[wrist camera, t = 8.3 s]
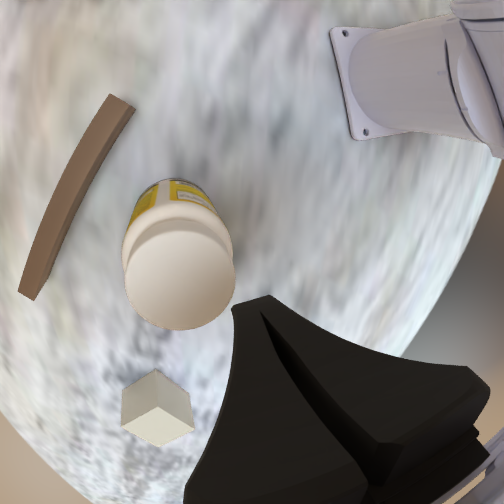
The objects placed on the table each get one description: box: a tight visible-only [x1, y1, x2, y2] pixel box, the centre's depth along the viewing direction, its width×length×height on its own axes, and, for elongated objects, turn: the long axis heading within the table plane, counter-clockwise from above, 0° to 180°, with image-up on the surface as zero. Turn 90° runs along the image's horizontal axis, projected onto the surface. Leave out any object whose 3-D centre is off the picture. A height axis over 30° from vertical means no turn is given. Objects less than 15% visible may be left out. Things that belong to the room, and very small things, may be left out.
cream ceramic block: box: [121, 369, 195, 447], centre depth 21 cm, size 4×4×4 cm
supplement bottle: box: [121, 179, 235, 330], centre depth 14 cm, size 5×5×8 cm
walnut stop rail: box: [18, 94, 136, 301], centre depth 14 cm, size 1×12×3 cm, turn 144°
